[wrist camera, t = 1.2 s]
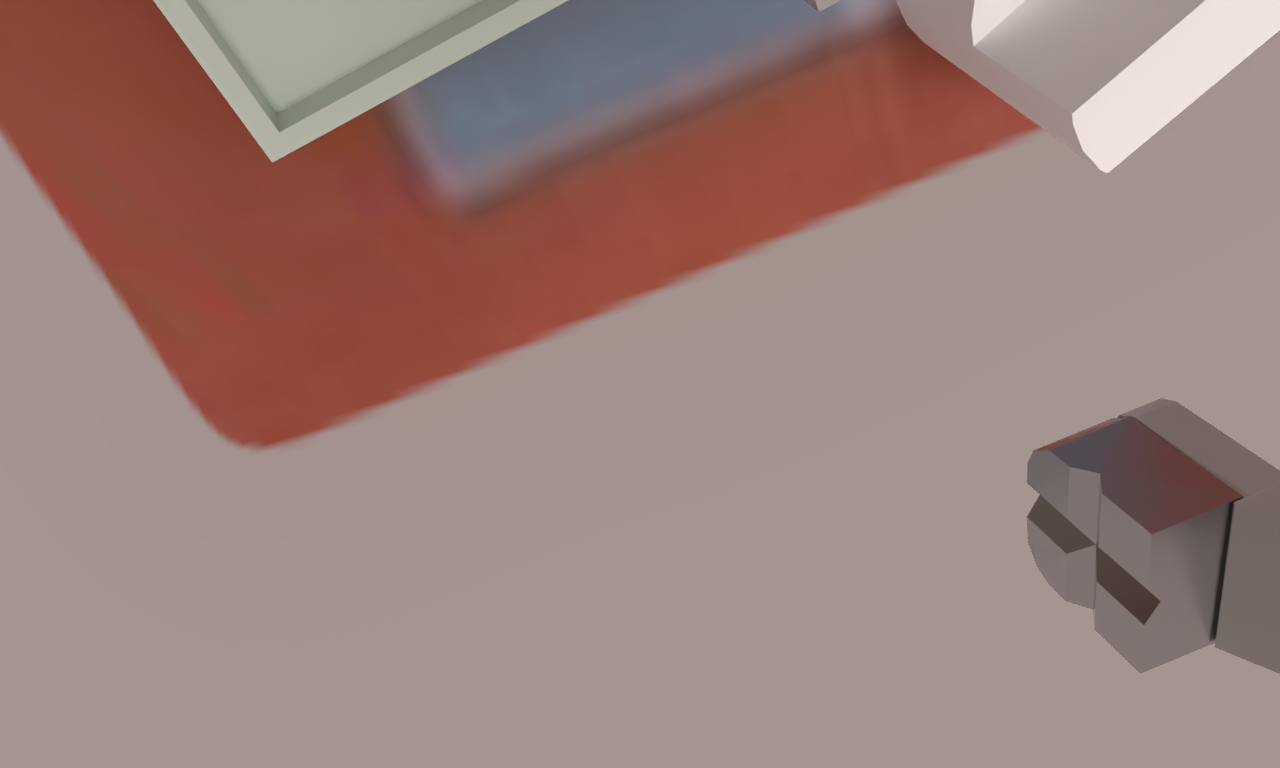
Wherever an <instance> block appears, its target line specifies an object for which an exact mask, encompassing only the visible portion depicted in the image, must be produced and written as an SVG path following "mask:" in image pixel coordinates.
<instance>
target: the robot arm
mask: <svg viewBox="0 0 1280 768" xmlns="http://www.w3.org/2000/svg"><path fill="white" fill-rule="evenodd" d="M1027 483H1028V484H1029V485H1030V486H1031V487H1032V488H1033V489H1034V490H1036V491H1037V492H1038V493H1039V494H1040V495H1039V497H1038V499H1037V501H1036V502H1035V504H1034V506H1033V508H1032V509H1031V511H1030V513H1029V515H1028V516H1027V529H1028V543H1029V546H1030V548H1031V551H1032V554H1033V556H1034V559H1035V562H1036V564H1037V567H1038V568H1039V570H1040V571H1041V573H1042V574H1043V576H1044V577H1045V579H1046V580H1047V582H1048V583H1049V584H1050V586H1052V587H1053V588H1054V590H1055V591H1056V592H1058V593H1059V595H1060V596H1061V597H1062V598H1063V599H1064V600H1066V601H1069V602H1072V603H1075V604H1078V605H1081V606H1084V607H1087V608H1091V609H1093V612H1094V626H1095V630H1096V631H1097V632H1098V633H1099V634H1100V635H1101V636H1102V637H1103V638H1104V639H1105V640H1106V641H1107V642H1109V644H1110V645H1111V646H1113V648H1115V649H1116V650H1117V651H1118V652H1119V653H1120V654H1121V655H1122V656H1123V657H1124V658H1125V659H1126V660H1127V661H1128V662H1129V663H1130V664H1131V665H1132V666H1133V667H1134V668H1135V669H1136V670H1137V671H1138V672H1139V673H1142V672H1145V671H1147V670H1150V669H1152V668H1155V667H1157V666H1160V665H1162V664H1164V663H1167V662H1169V661H1172V660H1174V659H1176V658H1179V657H1181V656H1184V655H1186V654H1189V653H1191V652H1193V651H1196V650H1198V649H1200V648H1203V647H1205V646H1208V645H1210V644H1213V643H1215V647H1216V648H1218V649H1221V650H1223V651H1225V652H1228V653H1230V654H1233V655H1235V656H1238V657H1240V658H1243V659H1245V660H1247V661H1250V662H1252V663H1255V664H1257V665H1260V666H1262V667H1265V668H1267V669H1269V670H1272V671H1274V672H1277V673H1279V674H1280V471H1279V470H1278V469H1276V468H1275V467H1273V466H1272V465H1270V464H1269V463H1267V462H1266V461H1264V460H1262V459H1261V458H1260V457H1258V456H1257V455H1255V454H1254V453H1252V452H1251V451H1249V450H1248V449H1246V448H1245V447H1243V446H1242V445H1240V444H1239V443H1237V442H1236V441H1234V440H1233V439H1231V438H1230V437H1229V436H1227V435H1226V434H1224V433H1223V432H1221V431H1220V430H1218V429H1217V428H1215V427H1214V426H1212V425H1211V424H1209V423H1208V422H1206V421H1205V420H1203V419H1201V418H1200V417H1198V416H1197V415H1196V414H1194V413H1192V412H1191V411H1190V410H1188V409H1187V408H1185V407H1184V406H1182V405H1181V404H1179V403H1178V402H1175V401H1172V400H1167V399H1163V398H1161V399H1158V400H1156V401H1153V402H1151V403H1149V404H1146V405H1144V406H1141V407H1139V408H1136V409H1134V410H1131V411H1129V412H1127V413H1124V414H1122V415H1120V416H1118V417H1117V418H1113V419H1110V420H1107V421H1105V422H1103V423H1101V424H1098V425H1095V426H1093V427H1090V428H1088V429H1086V430H1083V431H1081V432H1078V433H1076V434H1073V435H1071V436H1068V437H1066V438H1063V439H1061V440H1058V441H1056V442H1053V443H1051V444H1049V445H1046V446H1044V447H1042V448H1039V449H1036V450H1034V451H1033V453H1032V455H1031V457H1030V459H1029V461H1028V471H1027Z"/></svg>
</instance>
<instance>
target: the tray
mask: <svg viewBox="0 0 1280 768" xmlns="http://www.w3.org/2000/svg"><path fill="white" fill-rule="evenodd" d="M153 1H154V2H155V4H156V5H157V6H158V8H159V9H160V10H161V12H162V13H163V14H164V16H165V17H166V19H167V20H168V21H169V23H170V24H171V25H172V27H173V28H174V29H175V31H176V32H177V34H178V35H179V36H180V38H181V39H182V40H183V42H184V43H185V44H186V46H187V47H188V48H189V50H190V51H191V53H192V54H193V55H194V57H195V58H196V59H197V61H198V62H199V63H200V65H201V66H202V68H203V69H204V70H205V72H206V73H207V74H208V76H209V77H210V78H211V80H212V81H213V83H214V84H215V85H216V87H217V88H218V89H219V91H220V92H221V93H222V95H223V96H224V98H225V99H226V100H227V102H228V103H229V104H230V106H231V107H232V108H233V110H234V111H235V113H236V114H237V115H238V117H239V118H240V119H241V121H242V122H243V123H244V125H245V126H246V128H247V129H248V130H249V132H250V133H251V134H252V136H253V137H254V138H255V140H256V141H257V143H258V144H259V145H260V147H261V148H262V149H263V151H264V152H265V153H266V155H267V156H268V157H269V159H270V160H271V162H272V163H273V162H274V161H276V160H278V159H280V158H282V157H284V156H285V155H287V154H289V153H291V152H293V151H294V150H296V149H298V148H300V147H302V146H304V145H305V144H307V143H309V142H311V141H313V140H315V139H316V138H318V137H320V136H322V135H324V134H325V133H327V132H329V131H331V130H333V129H335V128H336V127H338V126H340V125H342V124H344V123H346V122H347V121H349V120H351V119H353V118H355V117H356V116H358V115H360V114H362V113H364V112H366V111H367V110H369V109H371V108H373V107H375V106H377V105H378V104H380V103H382V102H384V101H386V100H387V99H389V98H391V97H393V96H395V95H397V94H398V93H400V92H402V91H404V90H406V89H408V88H409V87H411V86H413V85H415V84H417V83H418V82H420V81H422V80H424V79H426V78H428V77H429V76H431V75H433V74H435V73H437V72H439V71H440V70H442V69H444V68H446V67H448V66H450V65H451V64H453V63H455V62H457V61H459V60H460V59H462V58H464V57H466V56H468V55H470V54H471V53H473V52H475V51H477V50H479V49H481V48H482V47H484V46H486V45H488V44H490V43H491V42H493V41H495V40H497V39H499V38H501V37H502V36H504V35H506V34H508V33H510V32H512V31H513V30H515V29H517V28H519V27H521V26H522V25H524V24H526V23H528V22H530V21H532V20H533V19H535V18H537V17H539V16H541V15H543V14H544V13H546V12H548V11H550V10H552V9H553V8H555V7H557V6H559V5H561V4H563V3H564V2H566V1H568V0H153Z"/></svg>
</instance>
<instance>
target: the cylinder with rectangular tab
mask: <svg viewBox="0 0 1280 768" xmlns="http://www.w3.org/2000/svg"><path fill="white" fill-rule="evenodd" d="M896 2H897V4H898V7H899V9H900V11H901V13H902V15H903V17H904V19H905V22H906V24H907V25H908V27H909V28H910V29H911V30H912V31H913V32H914V33H915V34H916V35H917V36H918V37H919V38H920V39H921V40H922V41H923V42H924V43H925V44H927V45H928V46H929V47H931V48H932V49H933V50H935V51H936V52H938V53H939V54H940V55H942V56H943V57H945V58H946V59H947V60H949V61H950V62H951V63H953V64H954V65H956V66H957V67H958V68H960V69H961V70H963V71H964V72H965V73H967V74H968V75H969V76H971V77H972V78H974V79H975V80H976V81H978V82H979V83H981V84H982V85H983V86H985V87H986V88H987V89H989V90H990V91H992V92H993V93H994V94H996V95H997V96H999V97H1000V98H1001V99H1003V100H1004V101H1005V102H1007V103H1008V104H1010V105H1011V106H1012V107H1014V108H1015V109H1017V110H1018V111H1019V112H1021V113H1022V114H1023V115H1025V116H1026V117H1028V118H1029V119H1030V120H1032V121H1033V122H1035V123H1036V124H1037V125H1039V126H1040V127H1041V128H1043V129H1044V130H1046V131H1047V132H1048V133H1050V134H1051V135H1053V136H1054V137H1055V138H1057V139H1058V140H1059V141H1061V142H1062V143H1064V144H1065V145H1066V146H1068V147H1069V148H1071V149H1072V150H1073V151H1075V152H1076V153H1078V154H1079V155H1080V156H1082V157H1083V158H1085V159H1086V160H1087V161H1089V162H1090V163H1091V164H1093V165H1094V166H1096V167H1097V168H1098V169H1100V170H1101V171H1104V172H1106V173H1108V172H1109V171H1111V170H1112V169H1113V168H1114V167H1115V166H1117V165H1118V164H1119V163H1120V162H1122V161H1123V160H1124V159H1125V158H1126V157H1127V156H1129V155H1130V154H1131V153H1132V152H1133V151H1135V150H1136V149H1137V148H1138V147H1140V146H1141V145H1142V144H1143V143H1144V142H1146V141H1147V140H1148V139H1149V138H1150V137H1152V136H1153V135H1154V134H1155V133H1156V132H1158V131H1159V130H1160V129H1161V128H1162V127H1164V126H1165V125H1166V124H1167V123H1168V122H1170V121H1171V120H1172V119H1173V118H1174V117H1176V116H1177V115H1178V114H1179V113H1180V112H1182V111H1183V110H1184V109H1185V108H1186V107H1188V106H1189V105H1190V104H1191V103H1192V102H1194V101H1195V100H1196V99H1197V98H1198V97H1200V96H1201V95H1202V94H1203V93H1205V92H1206V91H1207V90H1208V89H1209V88H1211V87H1212V86H1213V85H1214V84H1215V83H1217V82H1218V81H1219V80H1220V79H1221V78H1223V77H1224V76H1225V75H1226V74H1227V73H1229V72H1230V71H1231V70H1232V69H1233V68H1235V67H1236V66H1237V65H1238V64H1239V63H1241V62H1242V61H1243V60H1244V59H1245V58H1246V57H1248V56H1249V55H1250V54H1251V53H1253V52H1254V51H1255V50H1256V49H1257V48H1259V47H1260V46H1261V45H1262V44H1263V43H1265V42H1266V41H1267V40H1268V39H1269V38H1271V37H1272V36H1273V35H1274V34H1275V33H1277V32H1278V31H1279V30H1280V0H896Z"/></svg>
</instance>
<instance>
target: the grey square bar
mask: <svg viewBox="0 0 1280 768" xmlns="http://www.w3.org/2000/svg"><path fill="white" fill-rule="evenodd" d="M805 1H806V2H807V3H808V4H810V5H811V6H812V7H813V8H815V9H816V10H817V11H818V12H820V11H822V10H823V9H825V8H827V7H829V6H831V5H833V4H834V3H836V2H838V1H840V0H805Z"/></svg>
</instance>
